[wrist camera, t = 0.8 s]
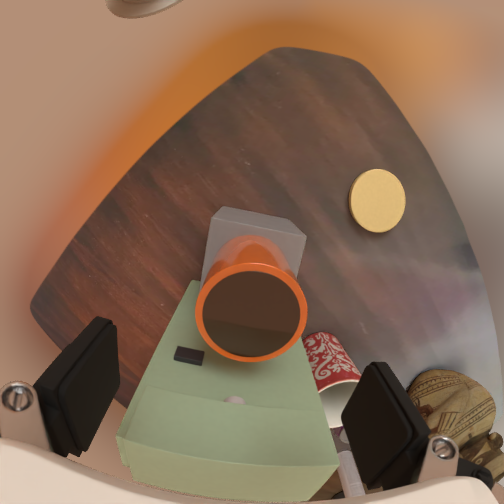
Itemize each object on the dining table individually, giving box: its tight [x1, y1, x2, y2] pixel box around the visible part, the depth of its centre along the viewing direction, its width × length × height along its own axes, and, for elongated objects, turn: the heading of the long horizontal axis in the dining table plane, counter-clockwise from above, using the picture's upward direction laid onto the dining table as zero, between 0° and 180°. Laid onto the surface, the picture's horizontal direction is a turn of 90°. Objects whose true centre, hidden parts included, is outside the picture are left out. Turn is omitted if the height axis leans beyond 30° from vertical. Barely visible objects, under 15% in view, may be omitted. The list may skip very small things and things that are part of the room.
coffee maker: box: [116, 206, 340, 502], centre depth 25 cm, size 14×15×29 cm
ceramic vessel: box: [407, 369, 504, 483], centre depth 33 cm, size 19×21×30 cm
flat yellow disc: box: [348, 169, 405, 232], centre depth 37 cm, size 9×9×1 cm
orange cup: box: [195, 235, 308, 362], centre depth 22 cm, size 7×7×9 cm
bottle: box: [337, 451, 365, 498], centre depth 42 cm, size 4×4×20 cm
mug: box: [302, 332, 362, 428], centre depth 37 cm, size 13×9×14 cm
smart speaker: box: [333, 491, 345, 500], centre depth 57 cm, size 9×9×4 cm
